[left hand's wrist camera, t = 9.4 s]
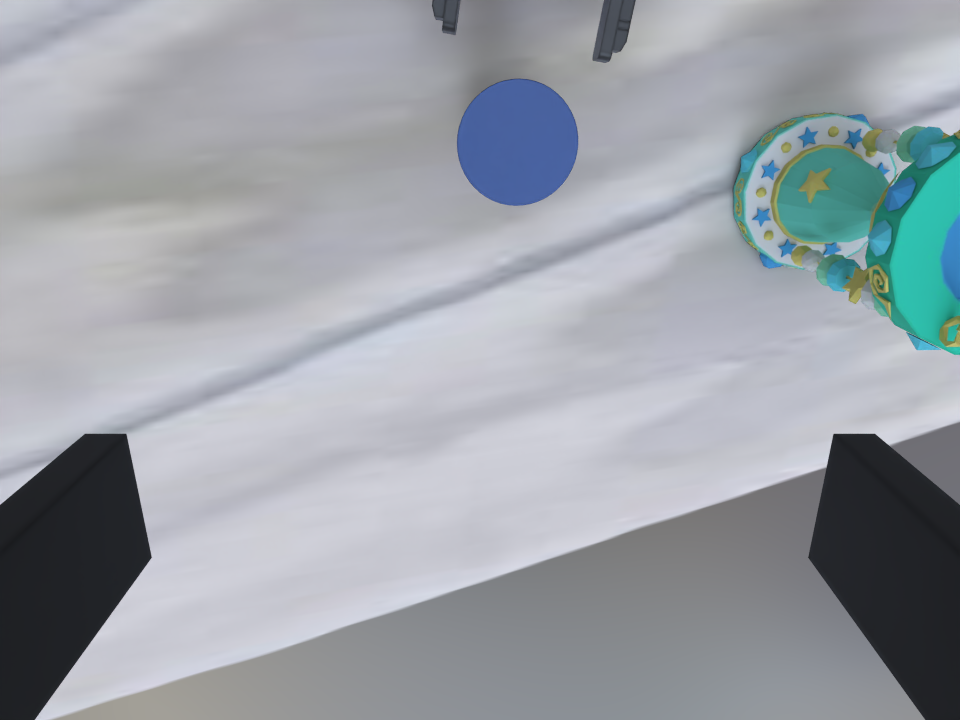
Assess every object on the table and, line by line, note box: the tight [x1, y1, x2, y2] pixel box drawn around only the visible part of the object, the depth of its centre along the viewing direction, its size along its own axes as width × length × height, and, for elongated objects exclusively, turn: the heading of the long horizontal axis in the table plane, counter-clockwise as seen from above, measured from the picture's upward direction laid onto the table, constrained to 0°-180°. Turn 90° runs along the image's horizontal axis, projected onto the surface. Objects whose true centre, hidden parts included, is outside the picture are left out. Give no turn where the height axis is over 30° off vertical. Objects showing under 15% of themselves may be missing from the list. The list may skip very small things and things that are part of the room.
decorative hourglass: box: [733, 113, 960, 355], centre depth 32 cm, size 11×11×30 cm
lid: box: [457, 79, 578, 206], centre depth 30 cm, size 5×5×2 cm
